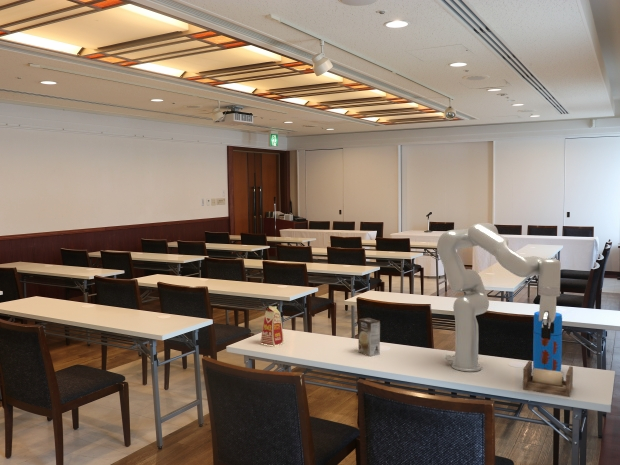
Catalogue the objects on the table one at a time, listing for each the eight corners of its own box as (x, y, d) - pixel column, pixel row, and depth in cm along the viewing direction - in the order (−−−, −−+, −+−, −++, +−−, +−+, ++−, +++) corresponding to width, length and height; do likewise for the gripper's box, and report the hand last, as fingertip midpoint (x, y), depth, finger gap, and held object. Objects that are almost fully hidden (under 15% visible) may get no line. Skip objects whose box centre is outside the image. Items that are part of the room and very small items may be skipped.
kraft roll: (531, 385, 212) (531, 370, 211) (534, 380, 217) (534, 366, 217) (562, 390, 206) (562, 375, 206) (564, 385, 212) (564, 370, 211)
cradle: (523, 389, 211) (523, 368, 210) (528, 380, 221) (528, 360, 220) (569, 396, 202) (569, 375, 202) (572, 387, 213) (572, 366, 212)
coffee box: (357, 352, 264) (357, 319, 263) (367, 350, 267) (367, 317, 267) (370, 356, 256) (370, 322, 255) (380, 354, 260) (380, 320, 259)
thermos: (537, 367, 238) (538, 310, 237) (564, 372, 231) (565, 313, 230) (529, 373, 230) (530, 314, 228) (556, 378, 223) (557, 317, 221)
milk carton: (274, 347, 274) (273, 307, 273) (259, 344, 279) (259, 305, 278) (285, 343, 282) (284, 304, 281) (270, 340, 287) (270, 302, 286)
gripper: (541, 287, 219) (540, 329, 220) (534, 293, 204) (533, 339, 205) (562, 288, 215) (561, 332, 216) (556, 295, 200) (555, 342, 202)
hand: (547, 335), depth 211 cm, fingers open, 9 cm apart
